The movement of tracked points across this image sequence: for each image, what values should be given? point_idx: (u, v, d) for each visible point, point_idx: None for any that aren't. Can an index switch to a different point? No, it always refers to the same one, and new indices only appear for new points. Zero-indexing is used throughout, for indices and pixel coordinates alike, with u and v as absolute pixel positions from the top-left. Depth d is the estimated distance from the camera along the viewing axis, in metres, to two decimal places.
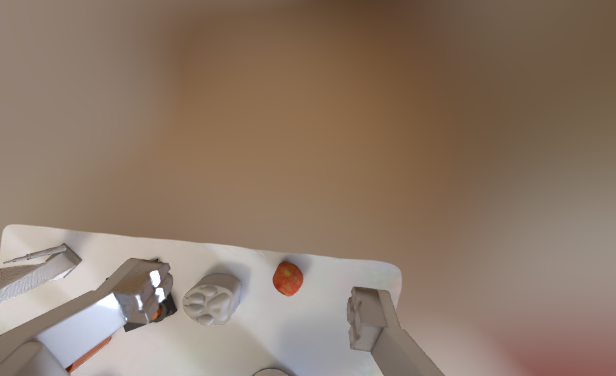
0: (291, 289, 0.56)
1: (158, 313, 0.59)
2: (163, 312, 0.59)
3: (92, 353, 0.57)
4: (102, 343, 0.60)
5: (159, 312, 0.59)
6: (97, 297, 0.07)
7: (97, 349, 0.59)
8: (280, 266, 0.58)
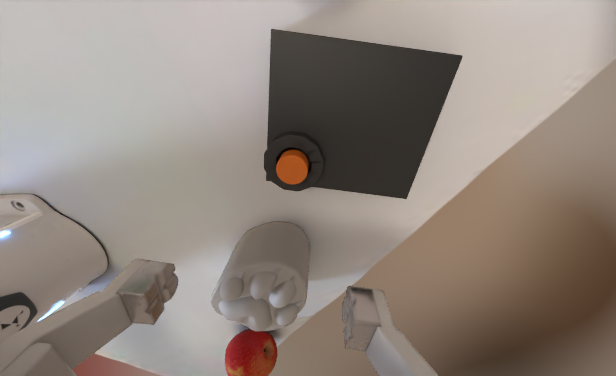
0: None
1: None
2: (281, 181, 0.23)
3: None
4: None
5: None
6: (104, 298, 0.07)
7: None
8: (273, 366, 0.37)
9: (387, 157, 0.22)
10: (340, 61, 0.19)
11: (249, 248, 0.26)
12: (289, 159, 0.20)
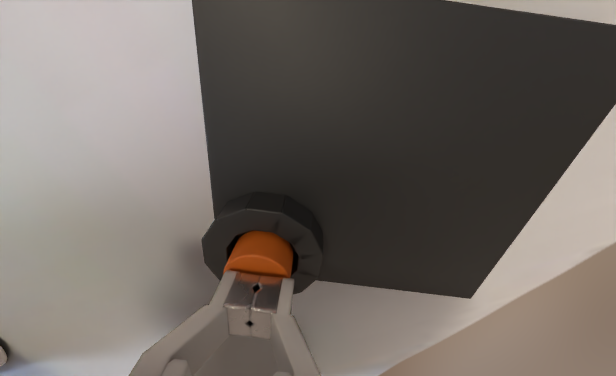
0: None
1: None
2: None
3: None
4: None
5: None
6: (214, 312, 0.07)
7: None
8: None
9: (446, 238, 0.12)
10: (362, 48, 0.08)
11: None
12: (249, 262, 0.09)
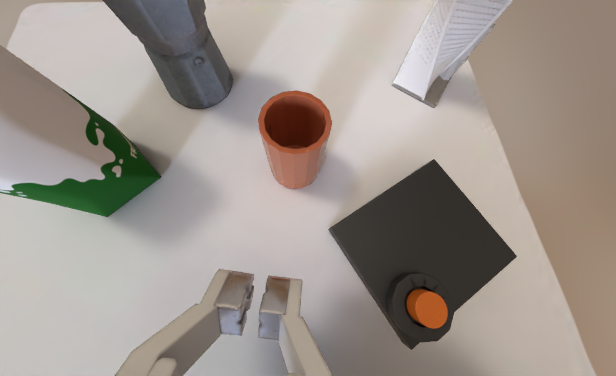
0: None
1: None
2: (428, 332, 0.20)
3: (290, 173, 0.22)
4: (298, 182, 0.25)
5: None
6: (204, 310, 0.07)
7: (291, 178, 0.24)
8: None
9: (467, 239, 0.25)
10: (381, 211, 0.25)
11: None
12: (421, 300, 0.20)
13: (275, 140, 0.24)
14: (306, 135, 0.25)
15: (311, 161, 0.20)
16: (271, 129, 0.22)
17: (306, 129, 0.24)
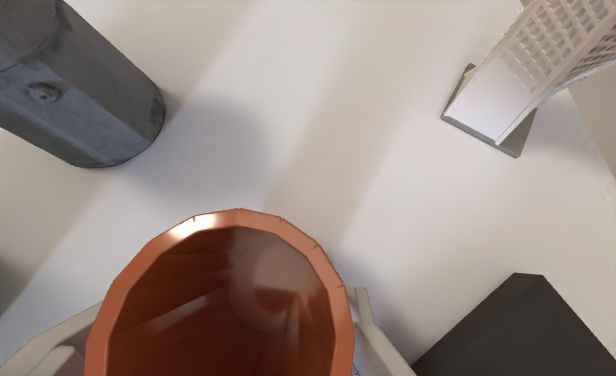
0: None
1: None
2: None
3: None
4: None
5: None
6: None
7: None
8: None
9: None
10: None
11: None
12: None
13: (218, 265, 0.11)
14: None
15: None
16: (190, 277, 0.08)
17: (286, 245, 0.11)
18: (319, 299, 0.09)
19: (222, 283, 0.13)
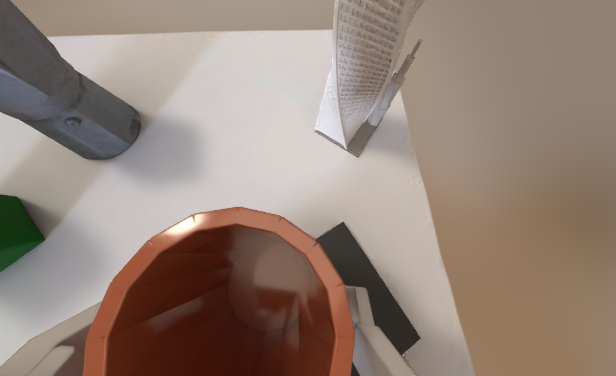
0: None
1: None
2: None
3: None
4: None
5: None
6: None
7: None
8: None
9: None
10: None
11: None
12: None
13: (218, 265, 0.11)
14: None
15: None
16: (189, 276, 0.08)
17: None
18: (319, 298, 0.09)
19: (222, 282, 0.13)
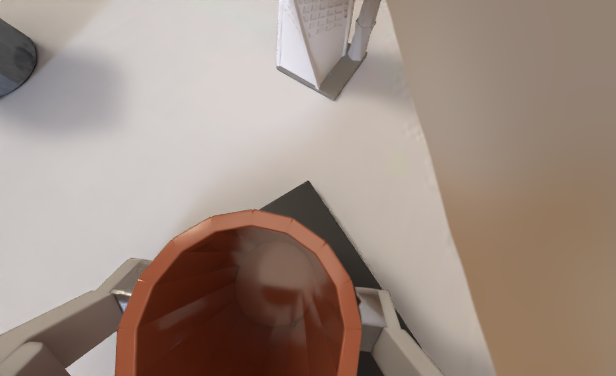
0: None
1: None
2: None
3: None
4: None
5: None
6: (97, 297, 0.07)
7: None
8: None
9: None
10: None
11: None
12: None
13: (228, 263, 0.12)
14: (295, 245, 0.12)
15: None
16: (203, 273, 0.09)
17: (293, 244, 0.11)
18: (325, 295, 0.09)
19: (230, 280, 0.13)
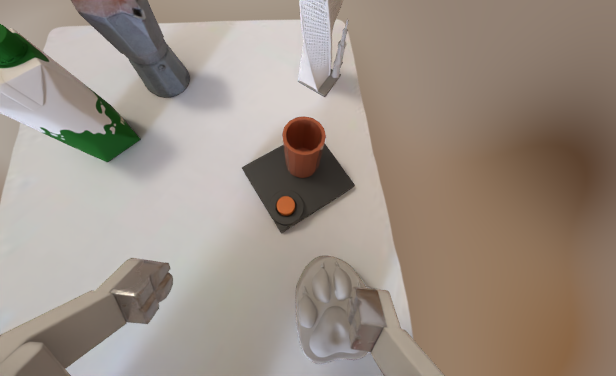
0: None
1: (287, 214, 0.36)
2: (286, 219, 0.36)
3: (300, 167, 0.35)
4: (304, 173, 0.38)
5: (287, 214, 0.36)
6: (97, 297, 0.07)
7: (300, 170, 0.37)
8: None
9: (325, 174, 0.41)
10: (274, 158, 0.41)
11: (300, 281, 0.33)
12: (280, 200, 0.36)
13: (289, 145, 0.37)
14: (310, 142, 0.38)
15: (313, 159, 0.33)
16: (288, 139, 0.35)
17: (310, 138, 0.37)
18: None
19: None
